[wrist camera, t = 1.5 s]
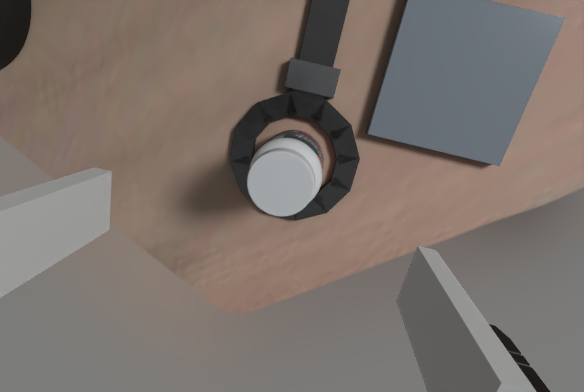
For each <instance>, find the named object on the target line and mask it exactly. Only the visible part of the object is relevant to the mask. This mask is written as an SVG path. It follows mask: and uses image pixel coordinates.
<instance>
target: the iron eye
mask: <svg viewBox="0 0 584 392" xmlns="http://www.w3.org/2000/svg"><path fill="white" fill-rule="evenodd" d="M348 4H349V0H312V3H311V7H310V12H309V16H308V21H307V26H306V30H305V35H304V39H303V44H302V49H301V53H300V58H299V59H294V58H291V59H290V64H289V69H288V73H287V78H286V83H285V87H289V88H293V90H292V92H288V93H285V94H282V95H279V96H276V97H273V98H270V99H267V100H263V101H260V102H258V103H257V104H256V105H255V106H254V107H253V108H252V110H251V111H250V112H249V113H248V114H247V115H246V117H245V118H244V119H243V120H242V121H241V123H240V124H239V125H238V126H237V127H236V128H235V134H234V140H233V146H232V152H231V158H230V163H231V165H232V168H233V171H234V174H235V176H236V179H237V182H238V185H239V187H240V190H241V192H242V193H243V194H244V195H245V196H246V197H248V198H249V199H250V200H251V201H252V202H253V200H252V199H251V197H250V195H249V192H248V188H247V177H248V173H249V170H250V164H251V161H252V158H253V153H254V147H255V142H256V138H257V137H258V136H259V135H260V133H261V132H262V131H263V130H264V129H265V128H266V127H267V125H268V124H269V123H270V122H272V121H275V120H278V119H282V118H285V117H288V116H291V115H293V116H297V117H301V118H305V119H309V120H313V121H315V122H316V123H317V124H318V125H319V126H320V127H321V128H322V129H324V130H325V131H326V132H327V133H328V134H329V135H330V136H331V138H332V142H333V145H334V149H335V153H336V156H337V160H336V164H335V167H334V171H333V174H332V178H331V180H330V181H329V182H328V183H327V184H326V185H325V186H324V187H323V188H322V189H320V190H319V191H318V193H317V195H316V196H315V197H314V198H313V199H312V200H311V201H310V202H309V203H308V204H307V206H306V207H305V208H304V209H302V210H301V211H300V212H298V213H296V214H293V215H290V216H279V217H283V218H287V219H291V220H295V221H296V220H300V219H304V218H308V217H312V216H316V215H320V214H324V213H327V212H328V211H329V210H330V209H331V208H332V207H333V206H334V205H335V204H337V203H338V202H339V201H340V200H341V199H342V198H343V197H344V196H345V195H346V194H347V193H348V192H349V191H350V189H351V186H352V183H353V179H354V176H355V173H356V169H357V166H358V163H359V159H360V158H359V154H358V150H357V146H356V142H355V138H354V134H353V130H352V126H351V124H350V123H349V122H348V121H347V120H346V119H345V118H344V117H343V116H342V115H341V114H340V113H339V112H338V111H337V110H336V109H335V108H334V107H333V106H332V105H331V104H330V103H329V102H328V101H327V100H325V96H327V97H331V98H333V97H334V93H335V90H336V86H337V82H338V78H339V74H340V70H341V69H336V68H333V64H334V60H335V56H336V52H337V48H338V44H339V40H340V36H341V32H342V28H343V24H344V20H345V16H346V12H347V8H348ZM253 203H254V202H253ZM254 204H255V203H254ZM255 205H256V204H255ZM263 212H264V211H263ZM264 213H266V212H264ZM267 214H268V213H267Z"/></svg>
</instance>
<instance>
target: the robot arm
mask: <svg viewBox="0 0 584 392" xmlns="http://www.w3.org/2000/svg"><path fill="white" fill-rule="evenodd" d="M30 19H31V0H0V69H1V68H3V67H4V66H6V65H7V64H9V63H10V62H11V61H12V60H13V59H14V58H15V57H16V55H17V54H18V53H19V51H20V50H21V48H22V46H23V44H24V42H25V40H26V37H27V34H28V30H29V26H30ZM111 175H112V171H108V170H103V169H99V168H95V167H94V168H90V169H87V170H84V171H81V172H78V173H75V174H71V175H68V176H65V177H62V178H59V179H55V180H52V181H49V182H46V183H43V184H40V185H37V186H33V187H30V188H27V189H24V190H20V191H17V192H14V193H11V194H8V195H5V196H1V197H0V298H1V297H3V296H4V295H6V294H7V293H9V292H11V291H12V290H14V289H15V288H17V287H19V286H20V285H22V284H23V283H25V282H27V281H28V280H30V279H31V278H33V277H34V276H36V275H38V274H39V273H41V272H43V271H44V270H46V269H47V268H49V267H51V266H52V265H54V264H55V263H57V262H59V261H60V260H62V259H63V258H65V257H67V256H68V255H70V254H71V253H73V252H74V251H76V250H78V249H79V248H81V247H83V246H84V245H86V244H87V243H89V242H90V241H92V240H94V239H95V238H97V237H99V236H100V235H102V234H103V233H105V232H107V231H108V230H109V224H110V200H111ZM397 304H398V307H399V310H400V313H401V316H402V319H403V321H404V325H405V328H406V330H407V333H408V336H409V339H410V342H411V345H412V348H413V351H414V354H415V357H416V359H417V362H418V365H419V368H420V371H421V374H422V377H423V380H424V383H425V385H426V389H427V391H428V392H550V391H549V389H548V388H547V387H546V385H545V384H544V383H543V382H542V380H541V379H540V378H539V376H538V375H537V374H536V372H535V371H534V370H533V368H531V367H530V364H529V363H528V362H527V360H526V359H525V358H524V356H521V352H520V351H519V350H518V349H517V347H516V346H515V345H514V343H513V342H512V341H511V339H510V338H508V337H507V336H506V335H505V334H504V333H503V332H502V331H500V330H499V329H498V328H497V327H496V326H494V325H490V324H488V323H487V321H486V320H485V319H484V317H483V316H482V314H481V313H480V311H479V310H478V309H477V307H476V306H475V304H474V303H473V302H472V300H471V299H470V297H469V296H468V295H467V293H466V292H465V290H464V289H463V288H462V286H461V285H460V283H459V282H458V281H457V279H456V278H455V276H454V275H453V274H452V272H451V271H450V269H449V268H448V266H447V265H446V264H445V262H444V261H443V260H442V258H441V257H440V255H439V254H438V252H437V251H436V250H433V249H429V248H425V247H421V246H417V249H416V251H415V254H414V256H413V259H412V262H411V264H410V267H409V269H408V273H407V275H406V277H405V280H404V282H403V285H402V288H401V290H400V293H399V296H398V298H397Z"/></svg>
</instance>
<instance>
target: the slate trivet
mask: <svg viewBox="0 0 584 392" xmlns="http://www.w3.org/2000/svg"><path fill="white" fill-rule="evenodd" d="M564 20H565V18H563V17H558V16H554V15H550V14H545V13H541V12H537V11H532V10H528V9H524V8H519V7H515V6H511V5H506V4H502V3H498V2H493V1H489V0H406V2H405V5H404V9H403V12H402V15H401V19H400V22H399V25H398V29H397V32H396V35H395V39H394V42H393V46H392V49H391V52H390V56H389V59H388V62H387V66H386V69H385V72H384V76H383V79H382V82H381V86H380V89H379V92H378V96H377V99H376V102H375V106H374V109H373V112H372V116H371V119H370V123H369V126H368V129H367V134H370V135H374V136H378V137H382V138H386V139H390V140H394V141H398V142H402V143H407V144H411V145H415V146H419V147H423V148H427V149H431V150H435V151H440V152H444V153H448V154H452V155H456V156H460V157H464V158H468V159H473V160H477V161H481V162H485V163H489V164H493V165H497V166H500V164H501V162H502V159H503V157H504V155H505V153H506V150H507V148H508V146H509V144H510V141H511V139H512V137H513V135H514V132H515V130H516V128H517V126H518V123H519V121H520V119H521V117H522V114H523V112H524V110H525V108H526V105H527V103H528V101H529V99H530V96H531V94H532V92H533V90H534V87H535V85H536V83H537V81H538V78H539V76H540V74H541V72H542V69H543V67H544V65H545V63H546V60H547V58H548V56H549V54H550V51H551V49H552V47H553V45H554V42H555V40H556V38H557V36H558V33H559V31H560V29H561V27H562V24H563V22H564Z"/></svg>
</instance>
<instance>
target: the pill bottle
mask: <svg viewBox="0 0 584 392" xmlns="http://www.w3.org/2000/svg"><path fill="white" fill-rule="evenodd" d="M322 177H323V153H322V150H321V147H320V145H319V144H318V142H317V141H316V140H315V139H314V138H313V137H312V136H311V135H309V134H307V133H305V132H303V131H299V130H288V131H284V132H281V133H279V134H277V135H276V136H275V137H273V138H272V139H271V140H269V141H268V142H267V143H265V144H264V145H263V146H262V147H260V148H259V150H258V151H257V152H256V153H255V155H254V157H253V159H252V161H251V164H250V170H249V173H248V177H247V188H248V192H249V195H250V197H251V199H252V200H253V202H254V203H255V204H256V206H257V207H259V208H260V209H261V210H262V211H264V212H266V213H268V214H271V215H274V216H290V215H293V214H296V213H298V212H300V211H301V210H302V209H304V208H305V207H306V206H307V204H308V203H309V202H310V201H311V200H312V199H313V198H314V197H315V196H316V195H317V193H318V191H319V189H320V186H321V183H322Z"/></svg>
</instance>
